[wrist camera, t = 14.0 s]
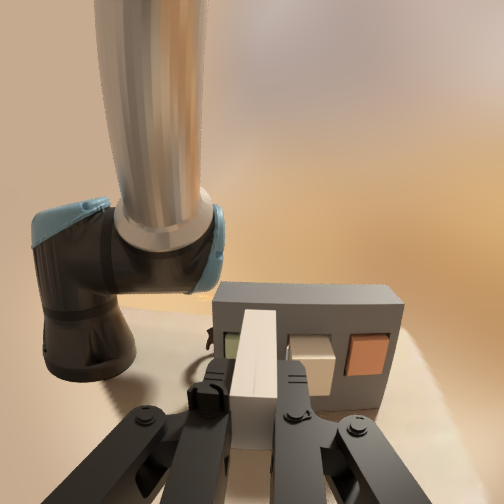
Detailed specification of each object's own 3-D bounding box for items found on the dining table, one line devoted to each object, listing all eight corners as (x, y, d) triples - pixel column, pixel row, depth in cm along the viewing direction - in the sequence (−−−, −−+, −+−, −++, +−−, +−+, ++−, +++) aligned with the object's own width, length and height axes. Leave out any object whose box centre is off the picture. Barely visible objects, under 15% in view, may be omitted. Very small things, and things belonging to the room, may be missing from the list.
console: (217, 409, 35) (212, 301, 31) (223, 380, 41) (220, 281, 37) (379, 407, 34) (404, 303, 31) (368, 380, 40) (386, 284, 36)
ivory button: (289, 395, 29) (292, 359, 28) (287, 368, 34) (289, 333, 33) (329, 395, 29) (335, 358, 28) (322, 368, 34) (327, 333, 33)
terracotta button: (347, 375, 32) (353, 340, 31) (339, 352, 37) (343, 320, 36) (381, 373, 32) (389, 339, 31) (370, 351, 37) (376, 319, 36)
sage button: (226, 374, 33) (225, 339, 32) (231, 350, 38) (230, 318, 36) (263, 376, 32) (265, 340, 31) (264, 352, 37) (266, 319, 36)
